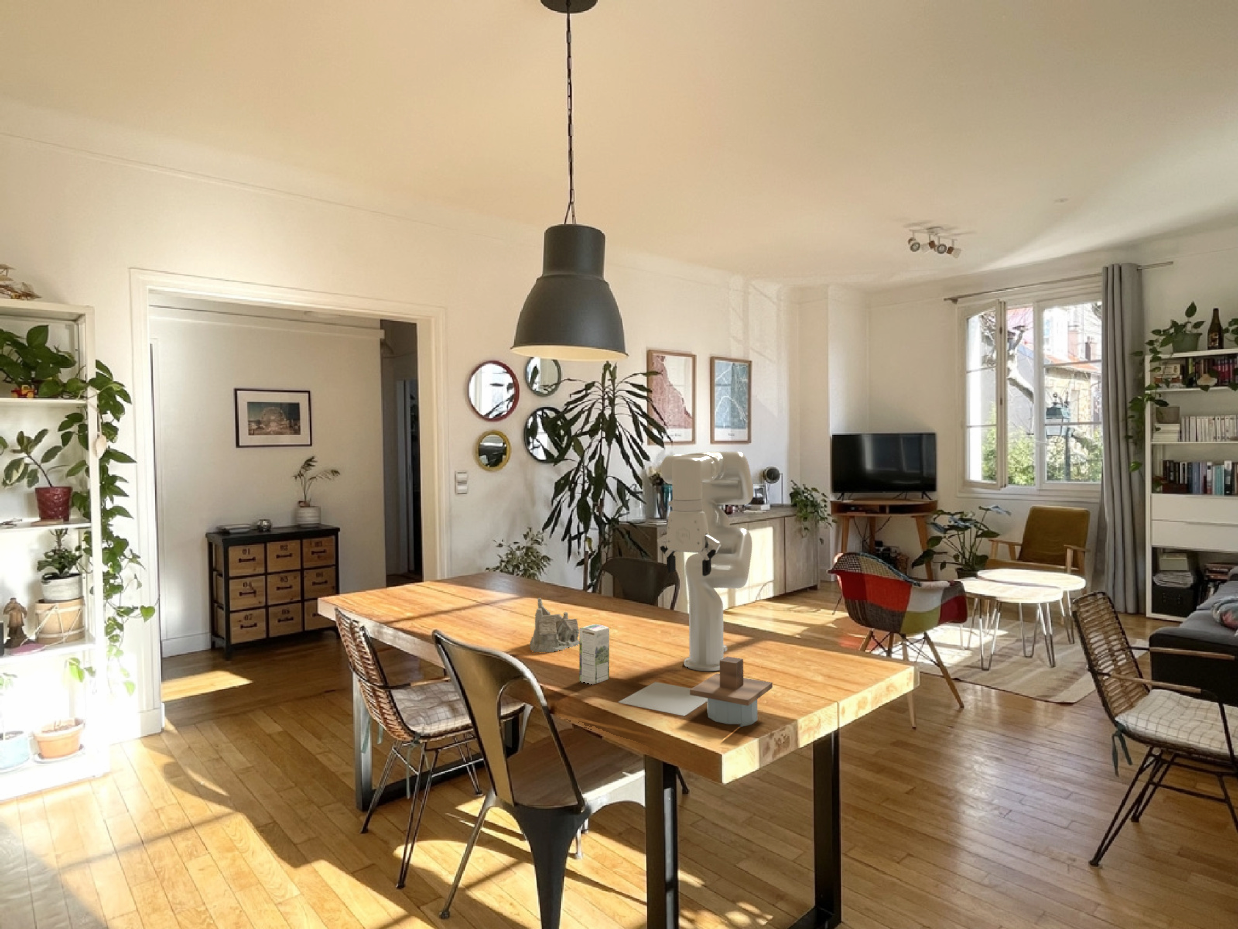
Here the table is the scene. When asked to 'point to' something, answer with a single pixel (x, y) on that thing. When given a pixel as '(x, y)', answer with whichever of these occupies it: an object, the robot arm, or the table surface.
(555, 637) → the ceramic cottage
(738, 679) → the walnut lid
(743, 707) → the slate bowl
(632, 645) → the table surface
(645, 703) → the grey mat
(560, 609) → the table surface
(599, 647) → the syrup box
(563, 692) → the table surface
